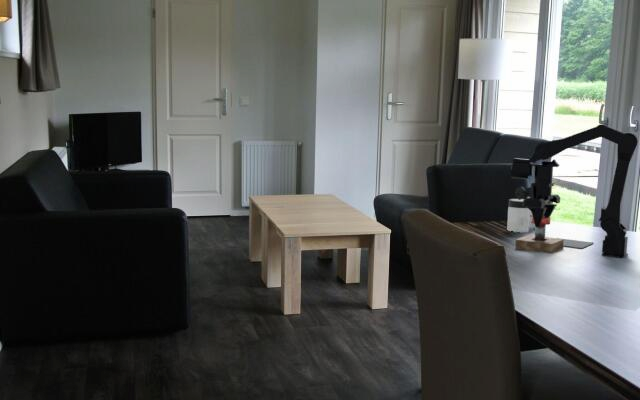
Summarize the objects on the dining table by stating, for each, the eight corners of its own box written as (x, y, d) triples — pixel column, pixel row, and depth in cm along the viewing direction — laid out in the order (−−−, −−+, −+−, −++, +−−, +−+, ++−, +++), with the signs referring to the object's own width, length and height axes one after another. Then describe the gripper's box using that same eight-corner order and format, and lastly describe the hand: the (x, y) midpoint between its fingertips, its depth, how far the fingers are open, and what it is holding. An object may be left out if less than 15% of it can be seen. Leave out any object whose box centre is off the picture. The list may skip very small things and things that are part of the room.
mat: (593, 243, 243) (593, 242, 243) (581, 249, 233) (582, 247, 233) (556, 239, 251) (556, 237, 251) (543, 244, 241) (543, 242, 241)
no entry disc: (534, 238, 237) (535, 214, 236) (551, 240, 233) (553, 216, 232) (527, 240, 232) (529, 216, 231) (545, 243, 229) (546, 218, 228)
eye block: (563, 247, 234) (563, 239, 234) (550, 253, 225) (551, 244, 225) (528, 243, 242) (529, 234, 241) (515, 248, 232) (515, 239, 232)
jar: (511, 232, 263) (513, 201, 261) (502, 229, 271) (504, 198, 269) (533, 232, 264) (535, 201, 263) (524, 229, 272) (526, 198, 271)
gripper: (530, 176, 243) (527, 220, 245) (509, 179, 228) (506, 226, 230) (561, 178, 236) (559, 223, 238) (542, 182, 221) (539, 230, 223)
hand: (540, 226), depth 232 cm, fingers closed on no entry disc, 6 cm apart
